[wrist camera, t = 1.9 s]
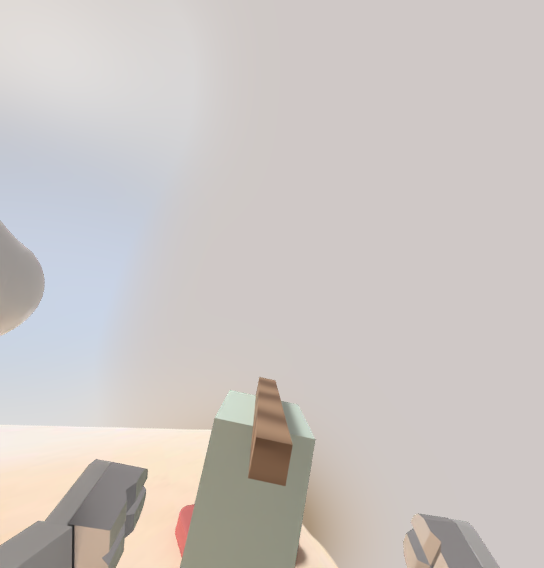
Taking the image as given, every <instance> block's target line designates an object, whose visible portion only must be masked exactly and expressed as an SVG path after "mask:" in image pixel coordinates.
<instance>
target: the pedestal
mask: <svg viewBox="0 0 544 568" xmlns="http://www.w3.org/2000/svg"><path fill="white" fill-rule="evenodd" d="M255 400H256V396H255V395H251V394H246V393H240V392H236V391H232V390H230V391H229V393H228V395H227V397H226V399H225V400H224V402H223V404H222V406H221V407H220V409H219V411H218V413H217V415H216V417H215V419H214V423H213V428H212V432H211V436H210V440H209V445H208V449H207V453H206V458H205V462H204V466H203V471H202V475H201V479H200V483H199V488H198V492H197V496H196V501H195V505H194V509H193V514H192V518H191V522H190V527H189V531H188V535H187V539H186V544H185V548H184V552H183V557H182V561H181V565H180V568H295V563H296V557H297V551H298V544H299V538H300V532H301V526H302V520H303V513H304V507H305V501H306V494H307V488H308V482H309V476H310V469H311V463H312V457H313V451H314V444H315V438H314V435H313V434H312V432H311V429H310V427H309V426H308V423H307V421H306V420H305V417H304V415H303V413H302V411H301V409H300V407H299V405H297V404H292V403H288V402H283V401H281V403H282V407H283V411H284V415H285V418H286V422H287V426H288V429H289V433H290V437H291V440H292V444H293V446H292V452H291V458H290V463H289V469H288V475H287V480H286V486H282V485H277V484H272V483H268V482H263V481H258V480H254V479H249V478H248V473H249V462H250V452H251V441H252V431H253V421H254V410H255Z"/></svg>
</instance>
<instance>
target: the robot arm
mask: <svg viewBox="0 0 544 568" xmlns="http://www.w3.org/2000/svg"><path fill="white" fill-rule="evenodd" d="M43 292H44V274H43V271H42V268H41V266H40V263H39V262H38V260H37V259H36V257H35V256H34V254H33V253H32V252H31V251H30V250H29V249H28V248H26V247H25V246H24V245H23V244H22V243H21V242H19V241H18V240H17V239H16V238H15V237H14V236H13V235H12V234H11V233H10V231H9V230H8V229H7V228H6V227H5V226H4V224H3V223H2V222H1V221H0V336H1V335H3V334H5V333H7V332H9V331H11V330H13V329H14V328H16V327H17V326H19V325H20V324H22V323H23V322H24V321H25V320H26V319H27V318H28V317H29V316H30V315H31V314H32V313H33V312H34V311H35V309H36V308H37V306H38V305H39V303H40V301H41V298H42V296H43ZM147 473H148V469H145V468H140V467H135V466H130V465H125V464H120V463H115V462H109V461H104V460H98V459H96V460H94V461H93V462H92V463H91V464H89V465H88V467H87V468H86V469H85V471H84V472H83V473H82V474H81V476H80V477H79V478H78V479H77V481H76V482H75V483H74V484H73V486H72V487H71V488H70V490H69V491H68V492H67V493H66V495H65V496H64V497H63V498H62V500H61V501H60V502H59V503H58V505H57V506H56V507H55V509H54V510H53V511H52V512H51V514H50V515H49V516H48V517H47V519H46V520H45V521H37V522H36V523H34V524H33V525H31V526H30V527H28V528H26V529H25V530H23V531H22V532H20V533H19V534H17V535H16V536H14V537H13V538H11V539H9V540H8V541H6V542H5V543H3V544H2V545H0V568H116V566H117V564H118V562H119V560H120V557H121V555H122V553H123V550H124V538H126V537H127V536H128V535H129V534H130V533H131V532H133V530H134V528H135V526H136V523H137V521H138V519H139V516H140V514H141V511H142V508H143V505H144V501H145V496H146V489H145V487H144V486H143V485H144V483H145V481H146V479H147ZM411 523H412V525H413V529H412V530H410V531H409V532H407V533H406V536H405V539H404V542H403V543H404V557H405V561H406V564H407V568H500V567H499V566H498V564H497V562H496V561H495V559H494V558H493V556H492V555H491V553H490V552H489V550H488V549H487V547H486V546H485V544H484V543H483V541H482V539H481V538H480V536H479V535H478V533H477V532H476V531H475V529H474V528H473V526H472V525H470V524H469V523H468V522H466V521H460V520H454V519H448V518H444V517H438V516H430V515H424V514H416V515H414V516H413V518H412V521H411Z"/></svg>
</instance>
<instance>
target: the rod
mask: <svg viewBox="0 0 544 568" xmlns="http://www.w3.org/2000/svg"><path fill="white" fill-rule="evenodd" d="M292 446H293V444H292V440H291V437H290V433H289V429H288V426H287V422H286V418H285V415H284V411H283V407H282V403H281V400H280V396H279V393H278V389H277V385H276V382H275V380H270V379H266V378H261V377H260V378H259V382H258V387H257V392H256V400H255V410H254V421H253V431H252V441H251V452H250V462H249V473H248V478H249V479H254V480H258V481H263V482H268V483H272V484H277V485H282V486H286V480H287V475H288V469H289V463H290V458H291V452H292Z"/></svg>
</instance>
